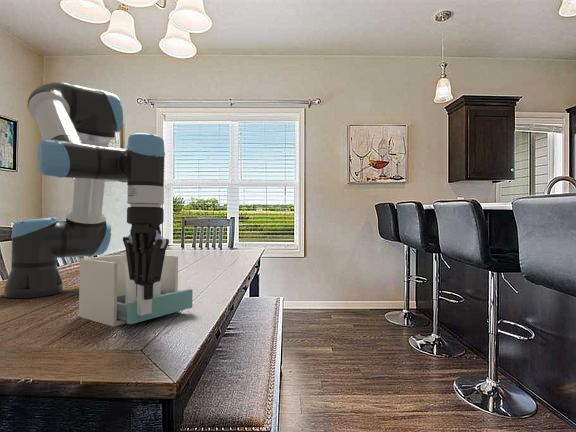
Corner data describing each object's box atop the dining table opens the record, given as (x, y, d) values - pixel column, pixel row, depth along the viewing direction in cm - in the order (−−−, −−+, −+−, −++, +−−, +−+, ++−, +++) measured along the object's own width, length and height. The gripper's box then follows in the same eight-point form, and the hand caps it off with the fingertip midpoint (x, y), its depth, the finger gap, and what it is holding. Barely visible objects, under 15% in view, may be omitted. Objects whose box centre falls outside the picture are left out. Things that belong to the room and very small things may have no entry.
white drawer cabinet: (79, 316, 89) (79, 258, 89) (143, 302, 104) (144, 252, 104) (113, 326, 82) (114, 263, 82) (177, 309, 97) (178, 256, 97)
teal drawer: (93, 314, 86) (93, 294, 86) (155, 300, 101) (156, 283, 101) (130, 324, 79) (130, 302, 79) (192, 307, 94) (192, 289, 94)
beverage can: (166, 303, 94) (167, 256, 94) (148, 311, 87) (149, 260, 87) (138, 301, 96) (138, 255, 96) (117, 309, 88) (118, 258, 88)
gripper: (112, 205, 81) (110, 312, 81) (150, 205, 74) (148, 322, 74) (141, 206, 87) (140, 306, 88) (179, 206, 81) (178, 314, 81)
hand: (144, 313), depth 81 cm, fingers closed
